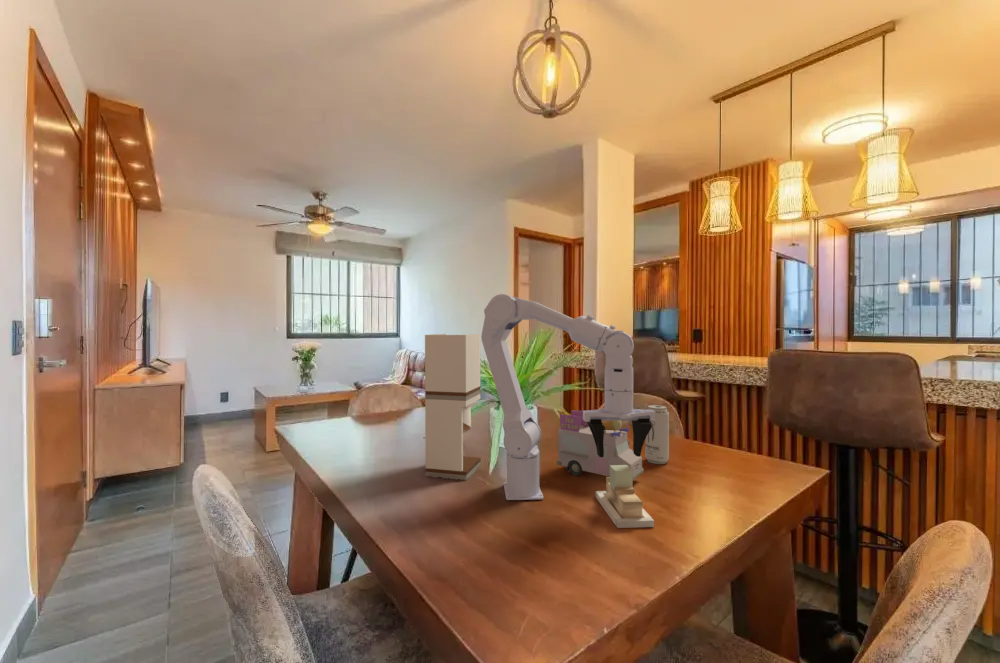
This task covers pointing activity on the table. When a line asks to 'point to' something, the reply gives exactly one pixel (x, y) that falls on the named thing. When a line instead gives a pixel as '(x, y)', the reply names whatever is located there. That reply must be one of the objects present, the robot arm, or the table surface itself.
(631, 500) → the tan stepped block
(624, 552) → the table surface
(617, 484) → the block
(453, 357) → the beige tall block
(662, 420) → the energy drink can
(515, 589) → the table surface
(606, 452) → the toy vehicle
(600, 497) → the jig
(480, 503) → the table surface
